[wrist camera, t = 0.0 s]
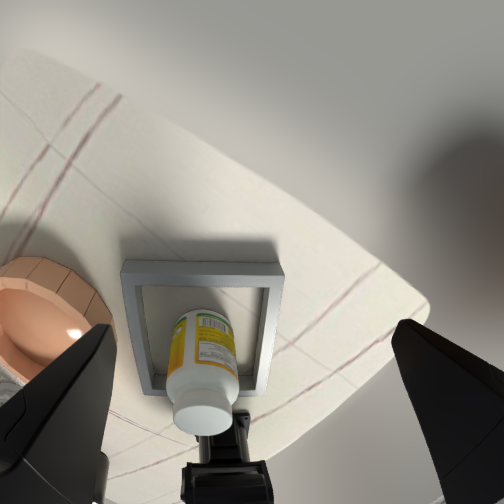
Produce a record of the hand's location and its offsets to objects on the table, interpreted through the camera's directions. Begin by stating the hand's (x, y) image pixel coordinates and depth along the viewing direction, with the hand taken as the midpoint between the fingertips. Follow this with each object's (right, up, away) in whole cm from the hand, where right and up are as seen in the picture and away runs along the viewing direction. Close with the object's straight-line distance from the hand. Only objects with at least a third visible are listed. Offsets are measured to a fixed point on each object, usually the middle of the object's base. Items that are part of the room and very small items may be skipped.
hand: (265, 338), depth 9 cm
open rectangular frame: (-5, -4, +18) cm, 19 cm away
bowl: (-20, -4, +16) cm, 26 cm away
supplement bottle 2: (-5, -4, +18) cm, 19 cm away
